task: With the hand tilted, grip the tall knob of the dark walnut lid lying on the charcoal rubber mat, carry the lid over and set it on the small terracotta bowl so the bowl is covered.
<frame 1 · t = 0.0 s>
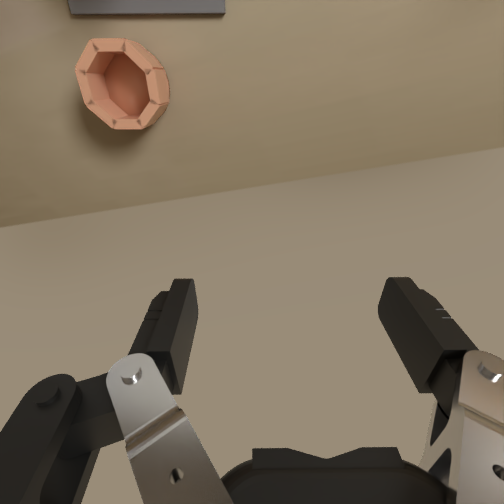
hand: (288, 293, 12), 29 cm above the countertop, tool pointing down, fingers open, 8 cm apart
terracotta bowl: (135, 86, 33), on the countertop
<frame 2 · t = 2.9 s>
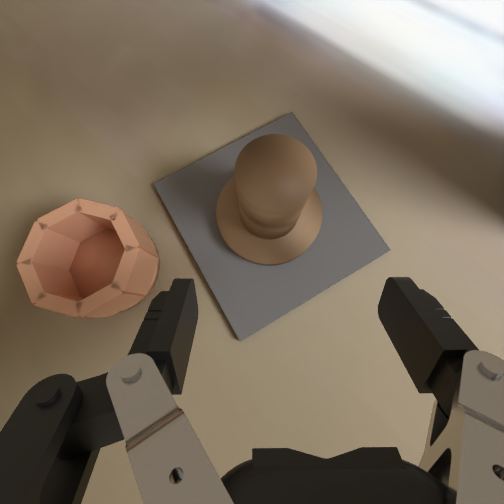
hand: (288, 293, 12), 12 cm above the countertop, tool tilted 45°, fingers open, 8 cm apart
terracotta bowl: (113, 266, 24), on the countertop
walnut lid: (268, 215, 24), point 1 cm above the countertop, touching rubber mat
rubber mat: (268, 218, 25), on the countertop
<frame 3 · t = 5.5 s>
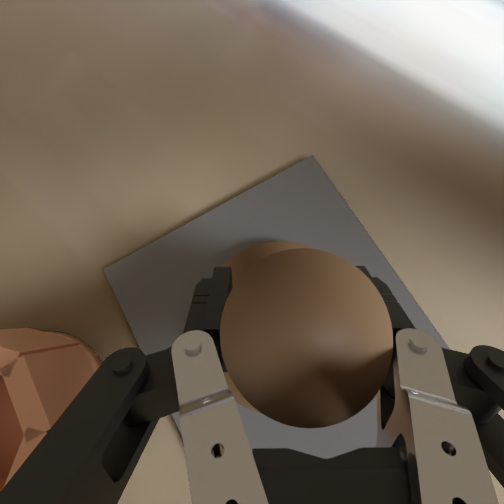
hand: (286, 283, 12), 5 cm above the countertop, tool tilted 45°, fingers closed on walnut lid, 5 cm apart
terracotta bowl: (37, 405, 15), on the countertop
walnut lid: (279, 322, 16), point 1 cm above the countertop, touching gripper, rubber mat
rubber mat: (278, 322, 16), on the countertop
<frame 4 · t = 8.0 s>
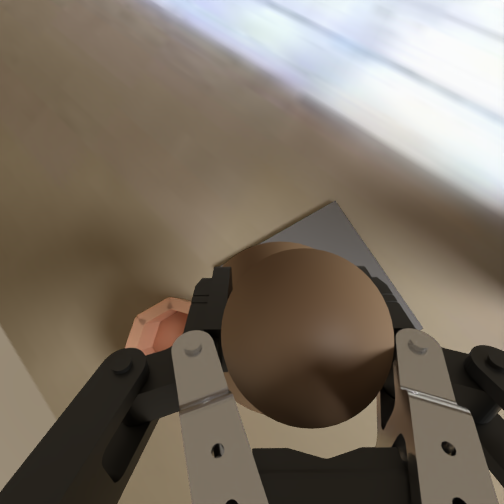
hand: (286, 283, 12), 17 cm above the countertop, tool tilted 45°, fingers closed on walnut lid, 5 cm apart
terracotta bowl: (187, 340, 28), on the countertop
walnut lid: (280, 322, 16), point 13 cm above the countertop, touching gripper
rubber mat: (316, 297, 29), on the countertop
when the fingers open (10 cm above the countertop, at t = 10.7 s): walnut lid drops 1 cm, resting on terracotta bowl.
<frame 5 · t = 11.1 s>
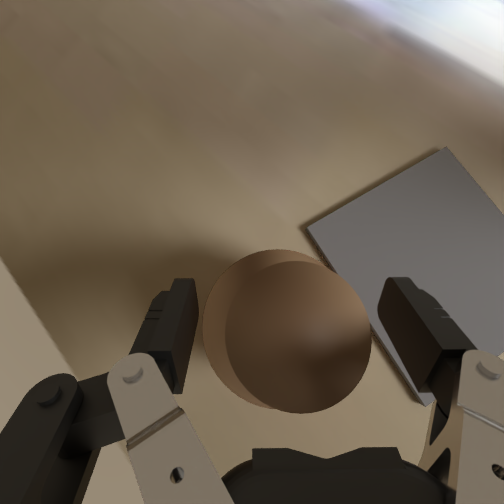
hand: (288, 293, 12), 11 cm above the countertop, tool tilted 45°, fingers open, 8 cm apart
walnut lid: (277, 323, 17), point 5 cm above the countertop, touching terracotta bowl
rubber mat: (432, 264, 23), on the countertop
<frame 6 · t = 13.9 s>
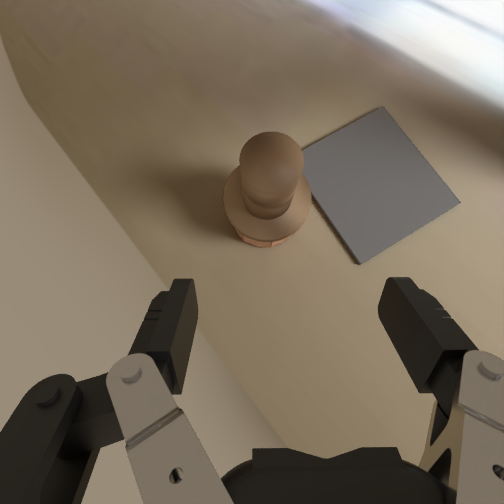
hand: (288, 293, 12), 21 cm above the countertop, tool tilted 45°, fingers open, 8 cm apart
walnut lid: (266, 201, 29), point 5 cm above the countertop, touching terracotta bowl
rubber mat: (370, 182, 35), on the countertop
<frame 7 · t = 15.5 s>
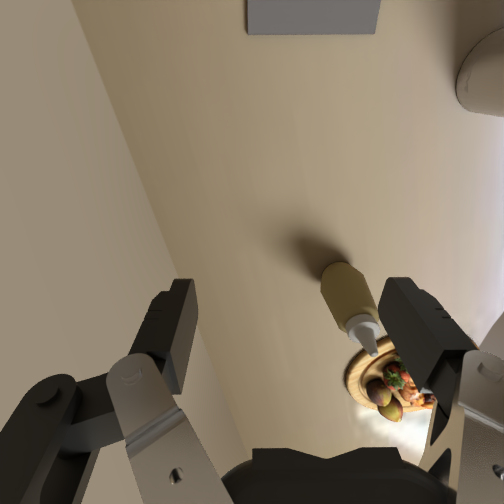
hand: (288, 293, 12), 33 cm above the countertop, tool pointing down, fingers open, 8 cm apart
wooden plate with food: (408, 369, 70), on the countertop
squeeze bottle: (336, 273, 52), on the countertop
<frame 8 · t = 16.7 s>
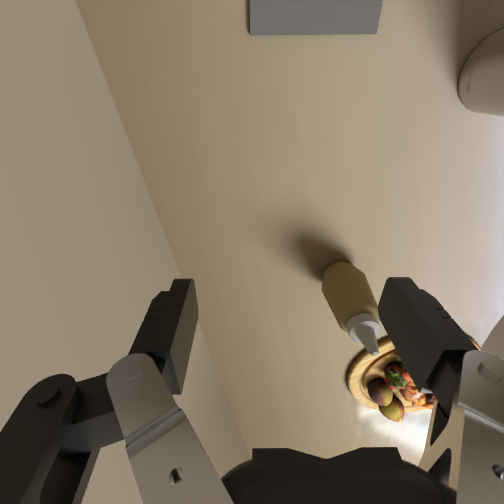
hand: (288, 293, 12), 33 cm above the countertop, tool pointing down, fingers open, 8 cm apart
wooden plate with food: (409, 368, 70), on the countertop
squeeze bottle: (338, 272, 53), on the countertop
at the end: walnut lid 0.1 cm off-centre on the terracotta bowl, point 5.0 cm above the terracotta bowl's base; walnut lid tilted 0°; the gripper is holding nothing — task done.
